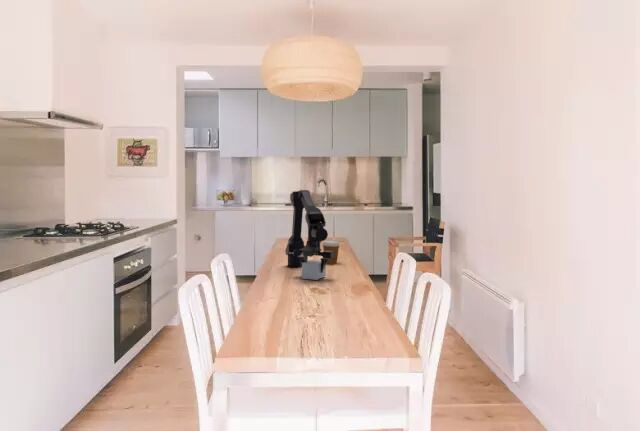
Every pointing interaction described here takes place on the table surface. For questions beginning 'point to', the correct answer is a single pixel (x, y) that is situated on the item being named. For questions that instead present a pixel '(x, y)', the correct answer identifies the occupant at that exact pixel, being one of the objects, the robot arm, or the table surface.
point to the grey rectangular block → (312, 270)
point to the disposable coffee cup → (331, 247)
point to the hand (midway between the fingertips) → (313, 271)
